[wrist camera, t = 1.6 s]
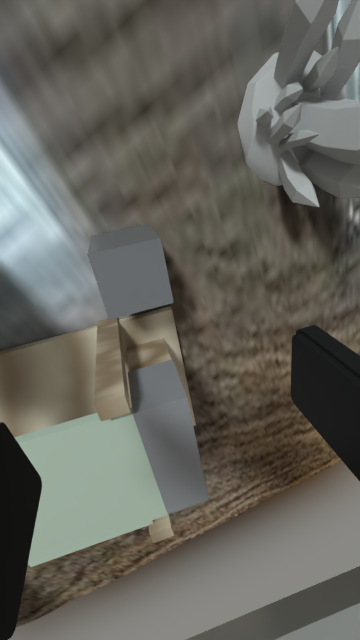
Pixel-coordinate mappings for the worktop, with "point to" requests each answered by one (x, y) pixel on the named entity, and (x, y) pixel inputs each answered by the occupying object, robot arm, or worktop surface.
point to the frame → (87, 376)
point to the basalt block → (130, 270)
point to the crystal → (306, 108)
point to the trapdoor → (115, 467)
